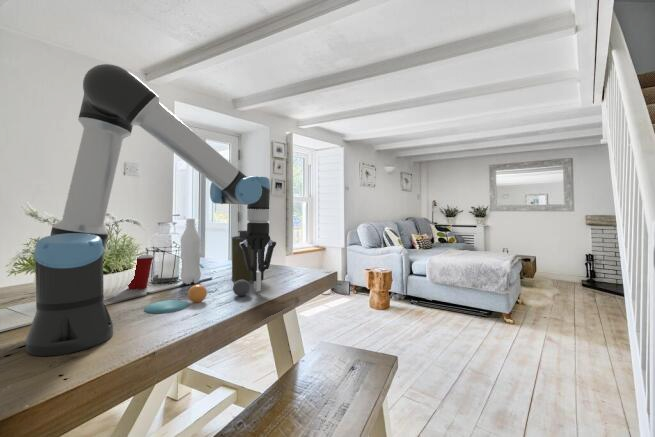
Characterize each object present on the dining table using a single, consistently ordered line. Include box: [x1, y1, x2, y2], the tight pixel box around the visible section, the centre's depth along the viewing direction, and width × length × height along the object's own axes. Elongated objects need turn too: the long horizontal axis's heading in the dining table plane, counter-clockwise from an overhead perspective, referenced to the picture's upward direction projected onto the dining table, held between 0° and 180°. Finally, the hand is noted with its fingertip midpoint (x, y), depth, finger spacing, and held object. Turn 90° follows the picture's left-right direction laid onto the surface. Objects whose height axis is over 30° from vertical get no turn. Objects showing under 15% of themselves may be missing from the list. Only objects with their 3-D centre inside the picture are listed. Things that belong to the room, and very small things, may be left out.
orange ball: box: [187, 284, 208, 304], centre depth 100 cm, size 6×6×6 cm
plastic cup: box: [127, 254, 155, 291], centre depth 117 cm, size 11×11×12 cm
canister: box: [231, 229, 259, 283], centre depth 132 cm, size 11×10×20 cm
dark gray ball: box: [232, 280, 251, 297], centre depth 108 cm, size 6×6×6 cm
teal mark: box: [143, 299, 190, 314], centre depth 95 cm, size 12×12×1 cm
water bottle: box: [180, 218, 202, 285], centre depth 124 cm, size 7×7×25 cm
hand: (257, 289), depth 111 cm, fingers closed
